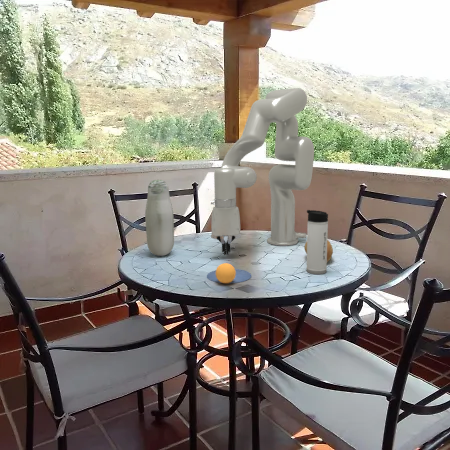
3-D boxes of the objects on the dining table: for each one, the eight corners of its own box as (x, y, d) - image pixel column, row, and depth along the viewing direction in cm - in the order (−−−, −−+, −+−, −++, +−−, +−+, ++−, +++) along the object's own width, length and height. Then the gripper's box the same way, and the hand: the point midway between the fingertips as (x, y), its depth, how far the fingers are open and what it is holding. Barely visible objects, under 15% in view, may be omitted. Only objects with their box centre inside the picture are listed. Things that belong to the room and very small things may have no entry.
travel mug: (304, 268, 144) (305, 208, 140) (324, 268, 144) (326, 208, 140) (306, 274, 138) (308, 212, 134) (328, 274, 138) (330, 211, 134)
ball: (235, 273, 127) (235, 287, 131) (235, 259, 132) (235, 273, 135) (214, 273, 127) (215, 287, 131) (215, 258, 132) (216, 272, 136)
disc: (249, 268, 145) (249, 268, 145) (253, 282, 132) (253, 281, 132) (206, 269, 145) (206, 269, 145) (206, 283, 131) (206, 283, 131)
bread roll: (307, 266, 148) (307, 243, 146) (301, 254, 162) (302, 233, 161) (336, 266, 147) (337, 243, 146) (328, 254, 162) (328, 233, 160)
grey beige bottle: (144, 253, 167) (140, 179, 161) (171, 250, 170) (168, 178, 165) (150, 259, 158) (146, 181, 152) (178, 256, 161) (175, 180, 156)
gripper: (204, 205, 151) (205, 257, 155) (247, 204, 152) (247, 256, 155) (204, 202, 158) (205, 251, 162) (245, 201, 159) (245, 250, 163)
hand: (226, 253), depth 159 cm, fingers closed
